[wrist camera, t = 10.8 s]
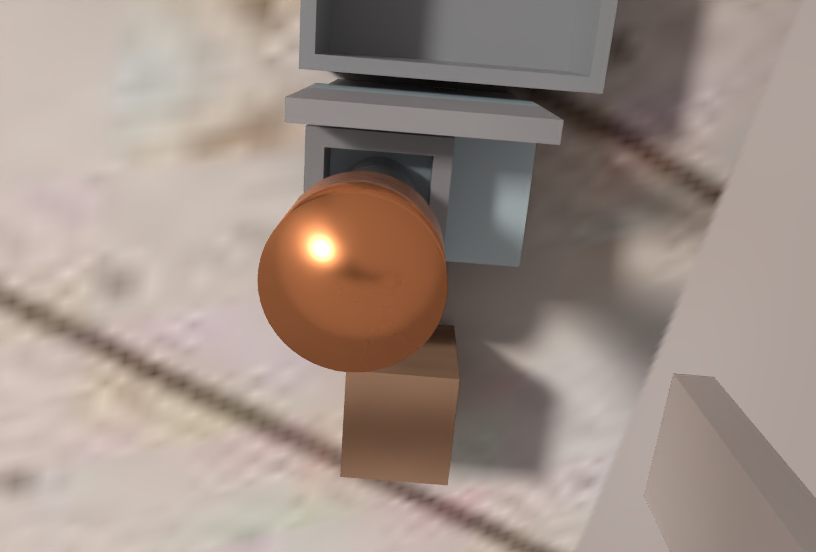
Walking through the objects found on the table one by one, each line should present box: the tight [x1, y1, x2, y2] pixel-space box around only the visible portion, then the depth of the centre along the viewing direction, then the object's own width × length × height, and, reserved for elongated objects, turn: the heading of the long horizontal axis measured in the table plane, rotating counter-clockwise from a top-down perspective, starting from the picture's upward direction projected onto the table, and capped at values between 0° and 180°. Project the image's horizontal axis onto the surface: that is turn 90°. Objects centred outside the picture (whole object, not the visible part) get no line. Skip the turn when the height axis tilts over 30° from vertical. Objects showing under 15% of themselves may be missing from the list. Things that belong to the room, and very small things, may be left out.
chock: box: [340, 325, 460, 485], centre depth 35 cm, size 6×5×6 cm
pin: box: [258, 156, 448, 372], centre depth 23 cm, size 5×5×11 cm
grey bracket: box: [285, 79, 564, 267], centre depth 29 cm, size 11×9×10 cm
